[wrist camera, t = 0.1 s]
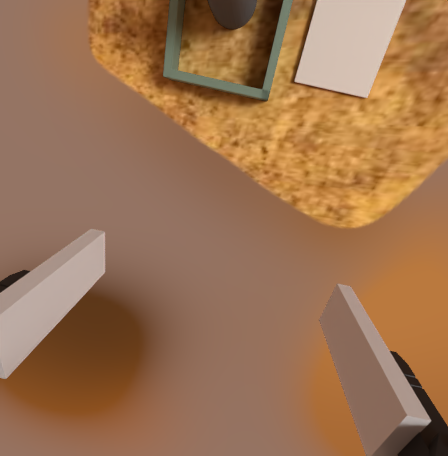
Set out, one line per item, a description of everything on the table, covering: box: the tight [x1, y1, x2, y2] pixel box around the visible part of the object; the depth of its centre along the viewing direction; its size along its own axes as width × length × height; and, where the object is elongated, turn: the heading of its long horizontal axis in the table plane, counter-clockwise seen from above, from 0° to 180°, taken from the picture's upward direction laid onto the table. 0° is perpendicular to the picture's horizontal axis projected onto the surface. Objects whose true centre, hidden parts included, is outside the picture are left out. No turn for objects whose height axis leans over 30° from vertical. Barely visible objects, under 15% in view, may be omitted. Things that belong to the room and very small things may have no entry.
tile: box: [294, 0, 406, 98], centre depth 30 cm, size 14×10×1 cm
